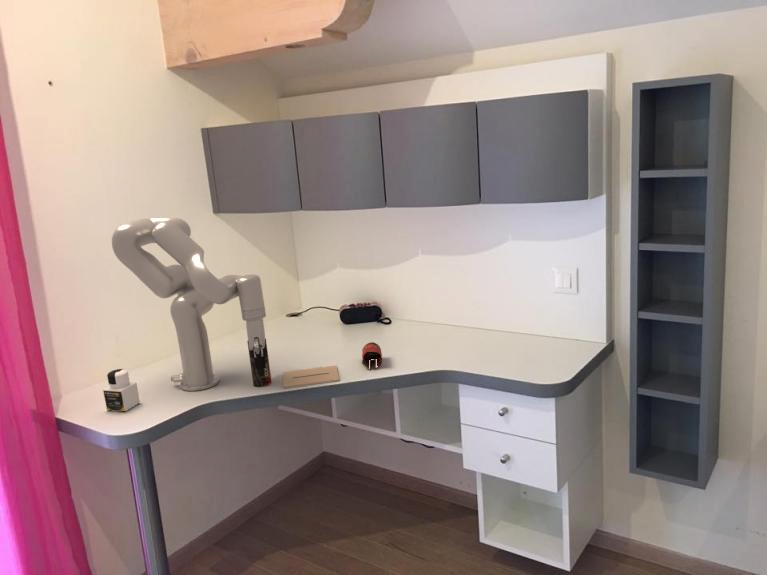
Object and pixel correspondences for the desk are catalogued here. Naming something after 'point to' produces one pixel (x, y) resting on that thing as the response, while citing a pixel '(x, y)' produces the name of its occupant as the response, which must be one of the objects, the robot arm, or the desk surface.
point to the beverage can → (371, 354)
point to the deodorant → (260, 375)
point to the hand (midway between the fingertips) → (261, 363)
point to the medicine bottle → (120, 391)
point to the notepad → (310, 376)
